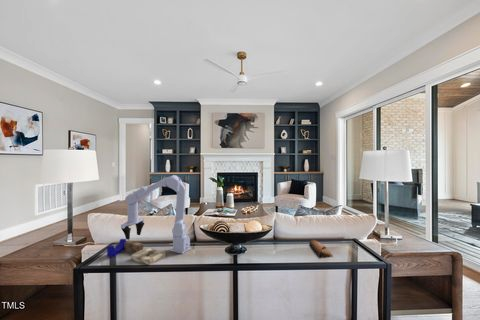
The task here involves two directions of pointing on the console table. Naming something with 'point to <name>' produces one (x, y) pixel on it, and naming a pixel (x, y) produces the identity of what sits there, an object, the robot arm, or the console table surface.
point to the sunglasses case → (320, 249)
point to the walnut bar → (133, 246)
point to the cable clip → (116, 248)
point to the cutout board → (149, 260)
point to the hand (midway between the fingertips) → (133, 237)
